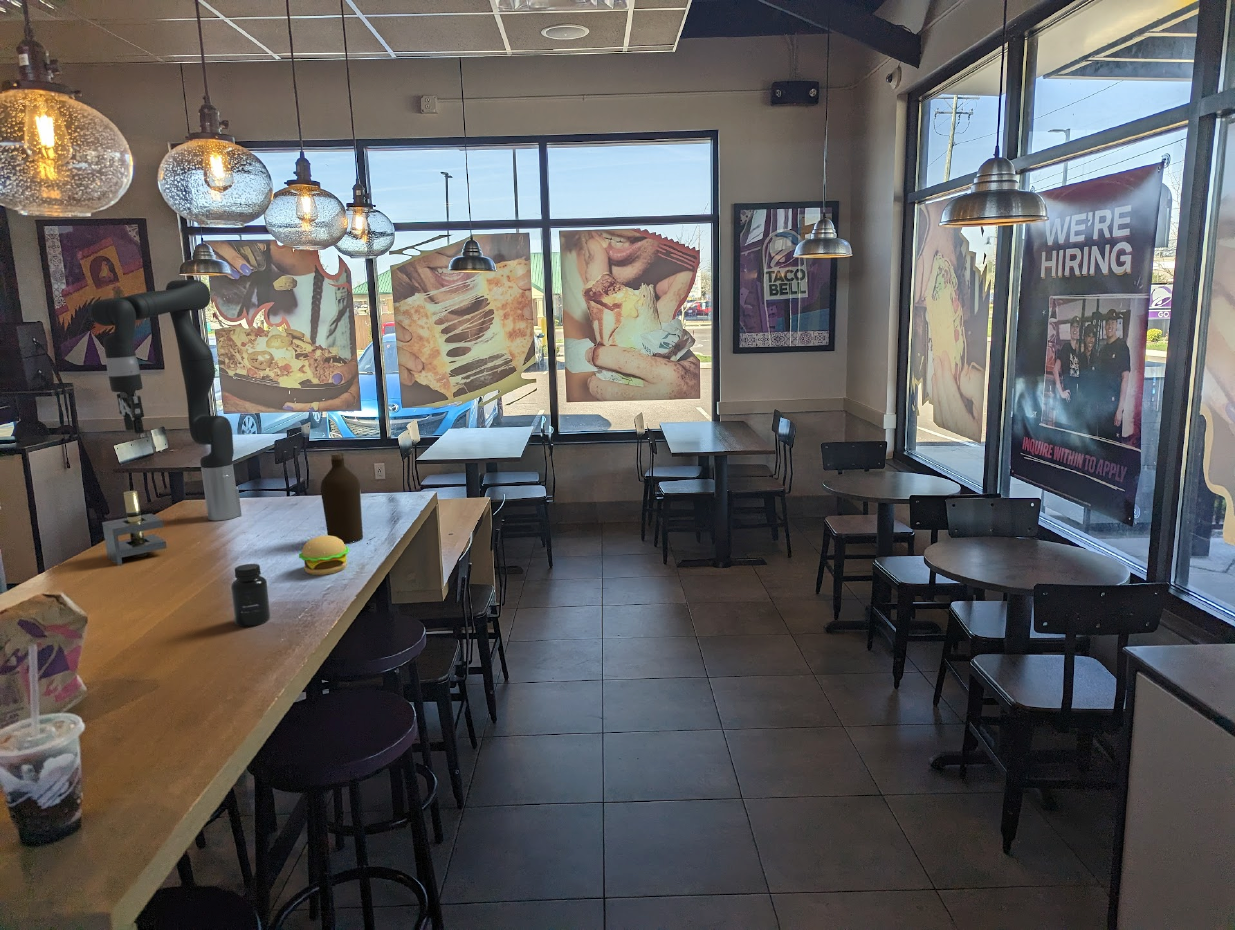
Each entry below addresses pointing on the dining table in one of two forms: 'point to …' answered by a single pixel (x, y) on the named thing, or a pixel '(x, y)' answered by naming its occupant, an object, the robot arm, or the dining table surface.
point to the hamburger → (324, 555)
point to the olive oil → (342, 502)
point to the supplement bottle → (250, 596)
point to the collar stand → (124, 547)
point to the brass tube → (134, 518)
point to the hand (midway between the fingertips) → (134, 431)
